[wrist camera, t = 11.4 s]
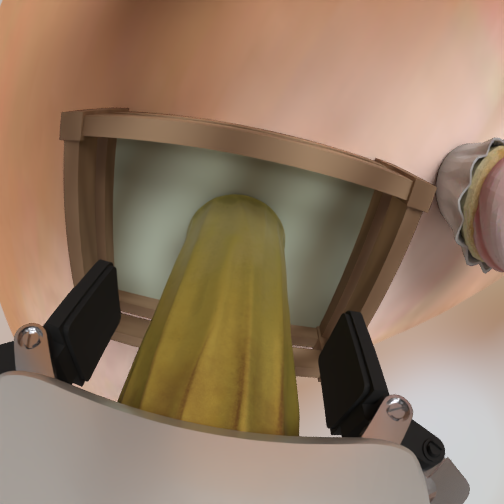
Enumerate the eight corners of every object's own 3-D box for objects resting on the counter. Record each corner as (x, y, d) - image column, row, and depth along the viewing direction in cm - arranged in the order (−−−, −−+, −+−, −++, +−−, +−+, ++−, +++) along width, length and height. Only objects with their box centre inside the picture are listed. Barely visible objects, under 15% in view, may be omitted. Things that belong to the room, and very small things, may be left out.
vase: (171, 248, 18) (73, 459, 5) (223, 172, 16) (108, 410, 3) (246, 295, 20) (234, 510, 7) (305, 231, 17) (373, 474, 5)
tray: (393, 164, 16) (437, 187, 11) (325, 333, 22) (336, 382, 18) (110, 107, 14) (61, 112, 10) (108, 291, 21) (80, 333, 16)
